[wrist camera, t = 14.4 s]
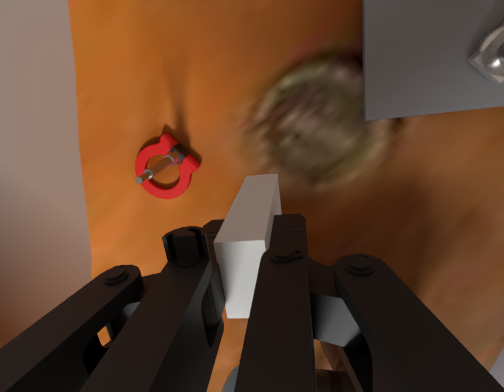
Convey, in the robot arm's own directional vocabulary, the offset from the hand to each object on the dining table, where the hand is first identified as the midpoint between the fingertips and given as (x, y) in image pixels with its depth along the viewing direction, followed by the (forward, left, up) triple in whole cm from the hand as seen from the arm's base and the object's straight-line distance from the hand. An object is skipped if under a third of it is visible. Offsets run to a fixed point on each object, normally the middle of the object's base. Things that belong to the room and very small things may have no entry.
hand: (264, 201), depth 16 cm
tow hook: (-5, +18, -30) cm, 35 cm away
